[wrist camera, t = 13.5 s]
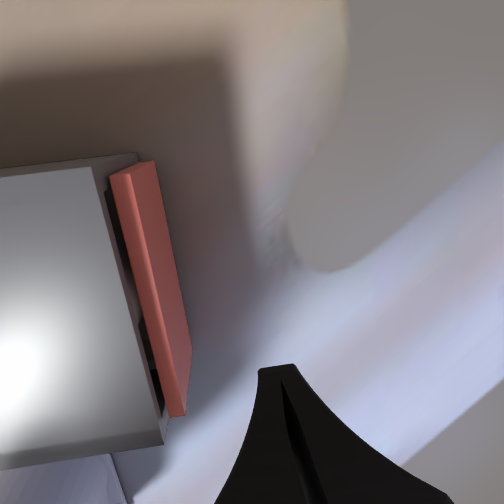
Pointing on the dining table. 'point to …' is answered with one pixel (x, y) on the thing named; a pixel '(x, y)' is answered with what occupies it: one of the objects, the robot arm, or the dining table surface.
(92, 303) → the housing
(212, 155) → the dining table surface
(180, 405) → the red drawer
